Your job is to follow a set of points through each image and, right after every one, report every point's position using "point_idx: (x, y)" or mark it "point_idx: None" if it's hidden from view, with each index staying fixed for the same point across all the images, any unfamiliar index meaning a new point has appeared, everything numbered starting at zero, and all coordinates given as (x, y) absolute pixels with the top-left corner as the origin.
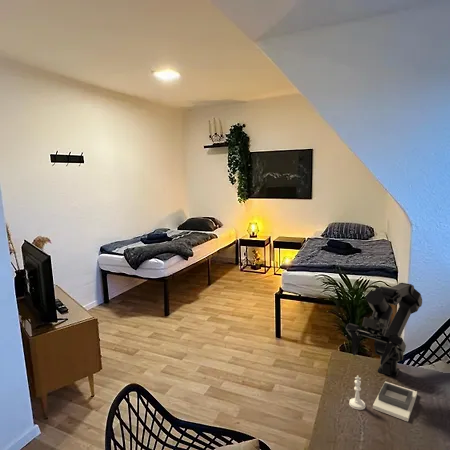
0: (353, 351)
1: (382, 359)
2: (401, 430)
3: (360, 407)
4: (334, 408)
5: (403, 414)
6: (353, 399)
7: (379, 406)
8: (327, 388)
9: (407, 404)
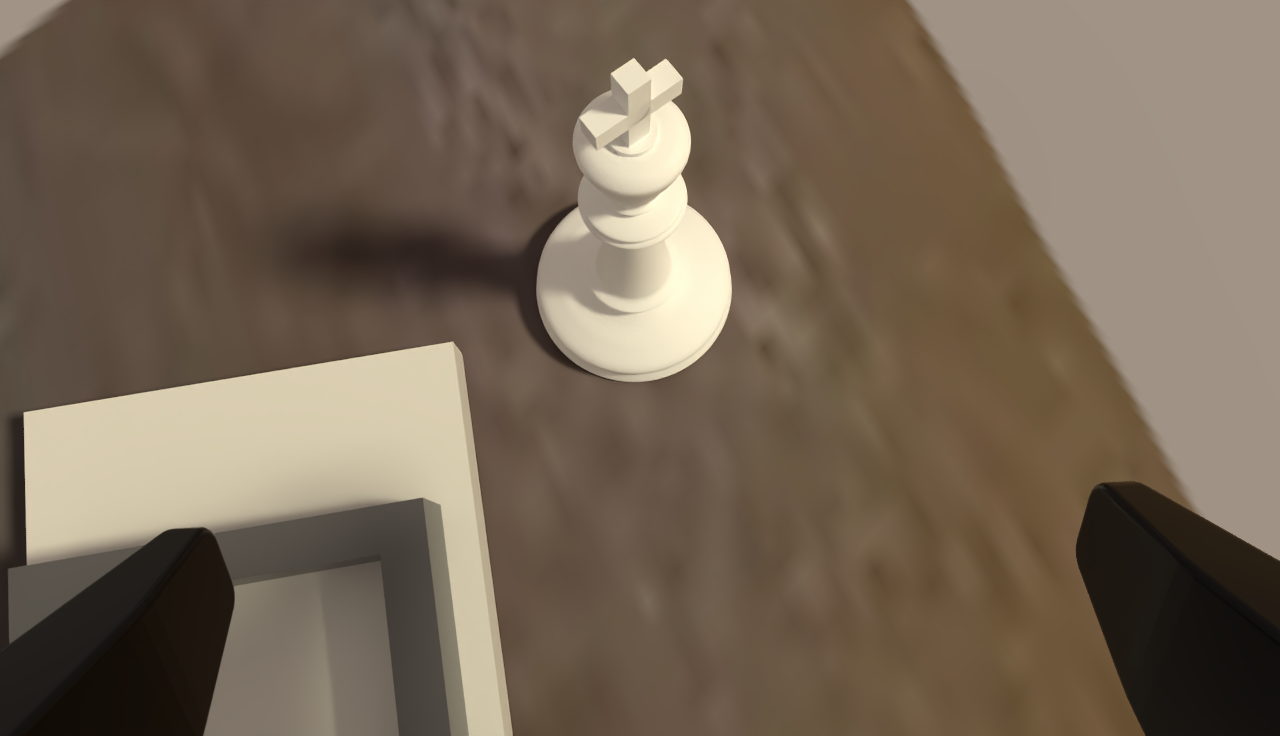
0: (1184, 525)
1: (90, 621)
2: (83, 227)
3: (562, 222)
4: (787, 43)
5: (87, 442)
6: (689, 275)
7: (375, 373)
8: (1084, 319)
9: (16, 577)
